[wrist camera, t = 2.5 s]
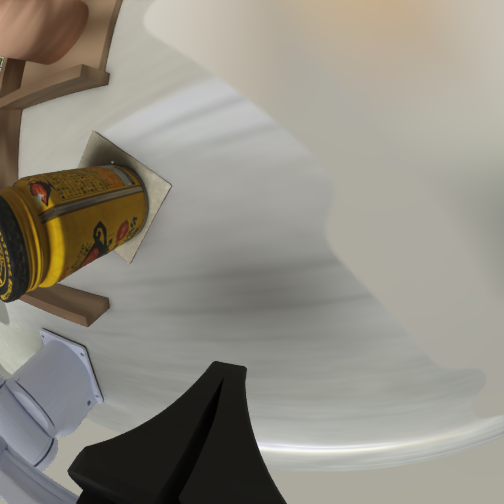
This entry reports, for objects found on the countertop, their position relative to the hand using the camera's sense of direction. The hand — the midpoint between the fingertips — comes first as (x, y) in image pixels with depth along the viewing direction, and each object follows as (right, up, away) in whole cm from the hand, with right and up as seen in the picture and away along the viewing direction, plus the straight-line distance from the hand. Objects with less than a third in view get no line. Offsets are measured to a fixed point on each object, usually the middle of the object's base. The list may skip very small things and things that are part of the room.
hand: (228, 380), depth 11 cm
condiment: (-10, +10, +9) cm, 16 cm away
